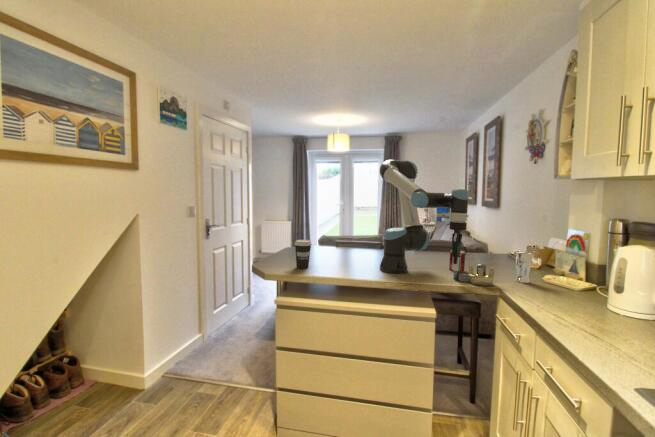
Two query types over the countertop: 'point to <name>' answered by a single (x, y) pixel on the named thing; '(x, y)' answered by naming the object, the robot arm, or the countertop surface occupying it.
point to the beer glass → (523, 266)
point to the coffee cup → (302, 253)
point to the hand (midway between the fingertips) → (455, 270)
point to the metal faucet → (476, 275)
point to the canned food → (461, 261)
